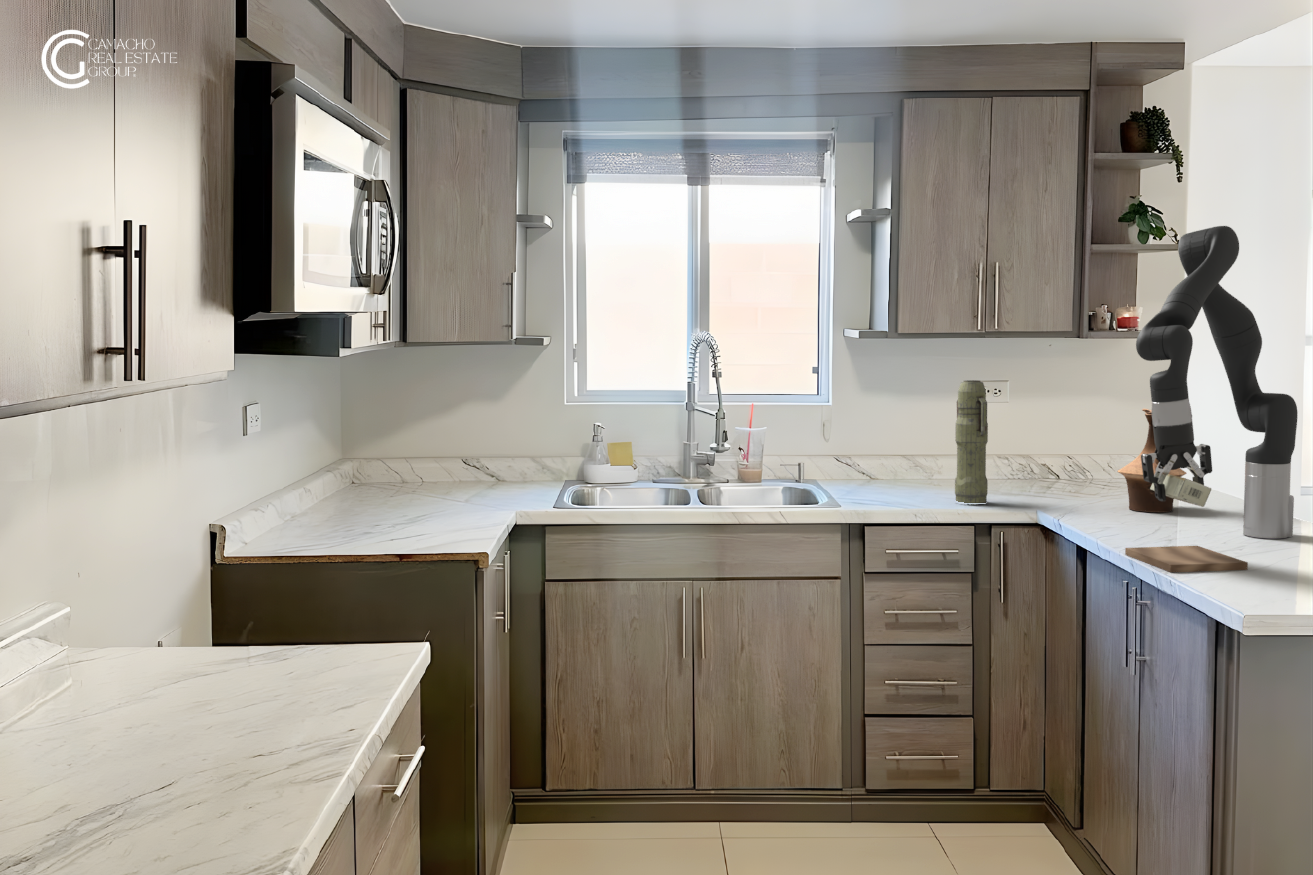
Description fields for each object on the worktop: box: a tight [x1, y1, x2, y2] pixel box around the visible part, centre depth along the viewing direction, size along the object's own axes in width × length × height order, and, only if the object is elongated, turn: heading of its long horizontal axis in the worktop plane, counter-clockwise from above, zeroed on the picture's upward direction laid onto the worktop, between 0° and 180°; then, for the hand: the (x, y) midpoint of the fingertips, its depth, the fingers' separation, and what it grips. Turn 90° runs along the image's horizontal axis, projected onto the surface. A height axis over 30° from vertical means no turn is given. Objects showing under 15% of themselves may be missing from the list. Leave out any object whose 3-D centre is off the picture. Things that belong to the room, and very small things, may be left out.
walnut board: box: [1124, 545, 1249, 573], centre depth 225 cm, size 16×18×2 cm
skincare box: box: [1150, 474, 1212, 508], centre depth 227 cm, size 6×4×12 cm
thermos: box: [954, 380, 989, 503], centre depth 308 cm, size 9×12×35 cm
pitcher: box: [1117, 408, 1187, 513], centre depth 290 cm, size 18×17×28 cm
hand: (1180, 497), depth 228 cm, fingers closed on skincare box, 7 cm apart
